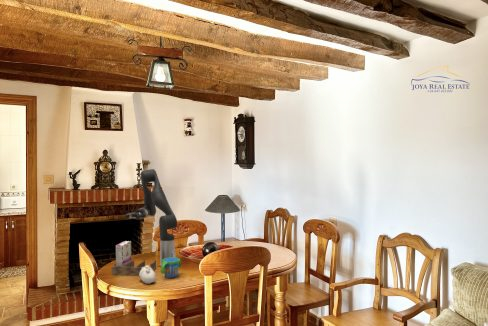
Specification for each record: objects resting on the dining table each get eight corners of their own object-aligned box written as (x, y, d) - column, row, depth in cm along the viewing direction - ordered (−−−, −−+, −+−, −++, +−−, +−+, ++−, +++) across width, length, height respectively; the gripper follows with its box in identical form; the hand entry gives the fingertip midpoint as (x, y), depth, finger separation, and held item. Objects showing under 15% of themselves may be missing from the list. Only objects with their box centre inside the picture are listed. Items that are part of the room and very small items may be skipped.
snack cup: (174, 271, 230) (174, 255, 230) (186, 274, 224) (186, 258, 224) (155, 278, 218) (155, 260, 218) (167, 281, 212) (167, 264, 211)
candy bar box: (124, 266, 237) (124, 240, 237) (131, 266, 236) (131, 241, 236) (115, 271, 226) (115, 245, 226) (123, 271, 225) (122, 245, 225)
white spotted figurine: (153, 268, 205) (145, 259, 218) (140, 277, 202) (133, 267, 215) (161, 280, 209) (152, 271, 221) (149, 290, 206) (141, 279, 218)
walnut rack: (156, 268, 236) (156, 260, 236) (147, 276, 221) (147, 267, 221) (122, 267, 239) (122, 259, 239) (111, 274, 224) (111, 266, 224)
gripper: (131, 208, 266) (121, 211, 249) (150, 208, 264) (141, 211, 248) (131, 218, 266) (121, 222, 250) (150, 218, 264) (142, 222, 248)
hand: (131, 217), depth 249 cm, fingers open, 8 cm apart
